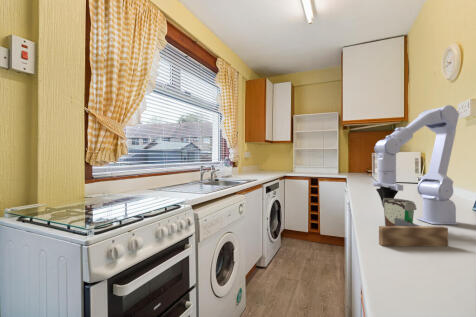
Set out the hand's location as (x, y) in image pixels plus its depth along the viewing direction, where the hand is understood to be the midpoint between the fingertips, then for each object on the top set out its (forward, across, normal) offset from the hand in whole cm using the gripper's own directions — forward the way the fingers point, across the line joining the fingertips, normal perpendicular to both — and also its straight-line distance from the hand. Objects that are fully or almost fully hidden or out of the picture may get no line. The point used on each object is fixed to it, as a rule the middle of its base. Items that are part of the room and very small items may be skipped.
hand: (386, 207), depth 86 cm
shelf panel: (+6, +22, -7) cm, 24 cm away
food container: (+6, +8, 0) cm, 10 cm away
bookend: (+6, +16, -7) cm, 19 cm away
